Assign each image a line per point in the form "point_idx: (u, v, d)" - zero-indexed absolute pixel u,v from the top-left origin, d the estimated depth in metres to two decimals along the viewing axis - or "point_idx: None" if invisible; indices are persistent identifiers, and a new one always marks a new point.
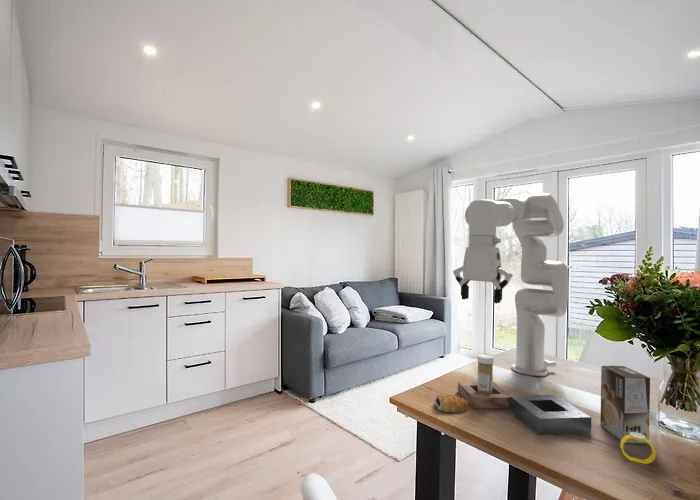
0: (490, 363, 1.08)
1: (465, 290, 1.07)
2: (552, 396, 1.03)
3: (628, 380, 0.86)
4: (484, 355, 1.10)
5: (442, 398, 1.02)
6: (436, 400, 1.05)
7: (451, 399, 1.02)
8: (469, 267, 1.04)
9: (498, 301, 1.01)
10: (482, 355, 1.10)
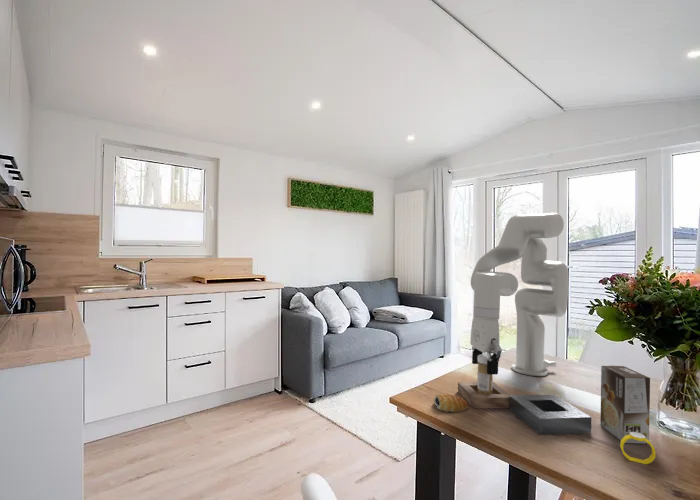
0: None
1: None
2: (552, 396, 1.03)
3: (628, 380, 0.86)
4: (484, 355, 1.10)
5: (441, 398, 1.03)
6: (435, 400, 1.05)
7: (450, 399, 1.02)
8: None
9: None
10: (482, 355, 1.10)
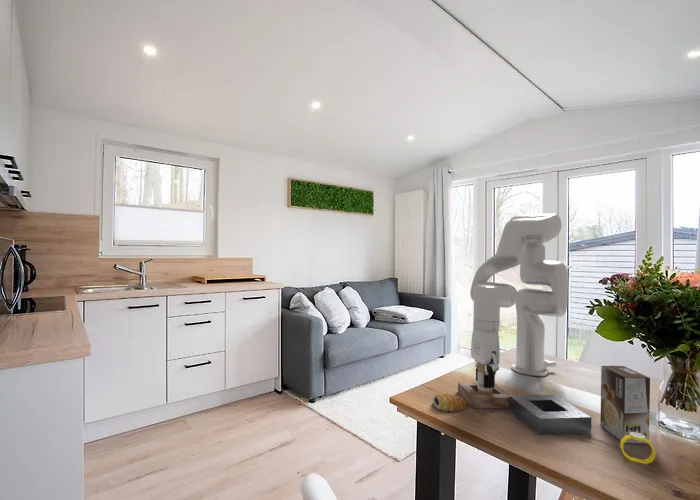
0: (490, 363, 1.08)
1: None
2: (552, 396, 1.03)
3: (628, 380, 0.86)
4: None
5: (441, 397, 1.03)
6: (434, 399, 1.05)
7: (449, 398, 1.03)
8: None
9: None
10: None
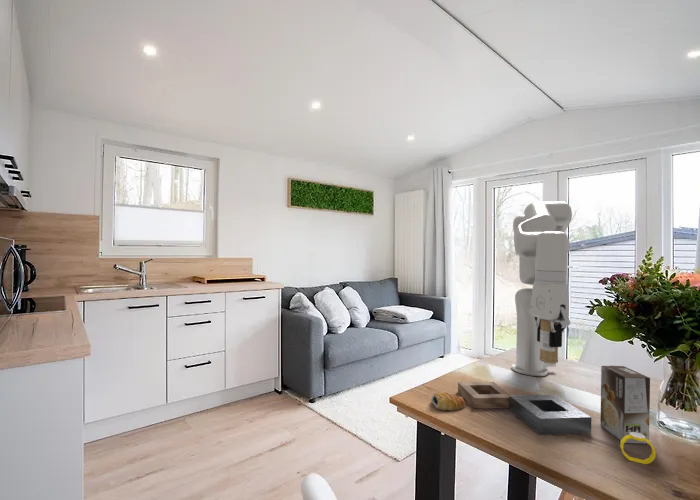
0: (556, 319, 0.95)
1: None
2: (552, 396, 1.03)
3: (628, 380, 0.86)
4: None
5: (439, 396, 1.03)
6: (433, 398, 1.06)
7: (448, 397, 1.03)
8: None
9: None
10: None
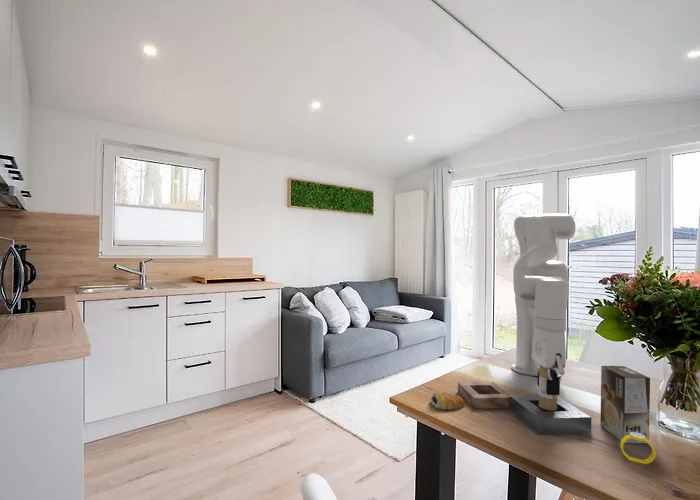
0: (554, 367, 0.95)
1: None
2: None
3: (628, 380, 0.86)
4: None
5: (439, 396, 1.04)
6: (432, 398, 1.06)
7: (447, 397, 1.03)
8: None
9: None
10: None
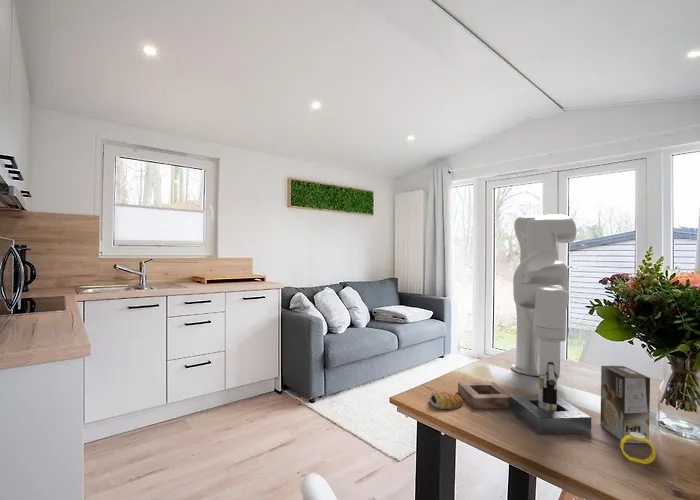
0: None
1: None
2: None
3: (628, 380, 0.86)
4: None
5: (438, 395, 1.04)
6: (431, 398, 1.06)
7: (446, 396, 1.04)
8: None
9: None
10: None
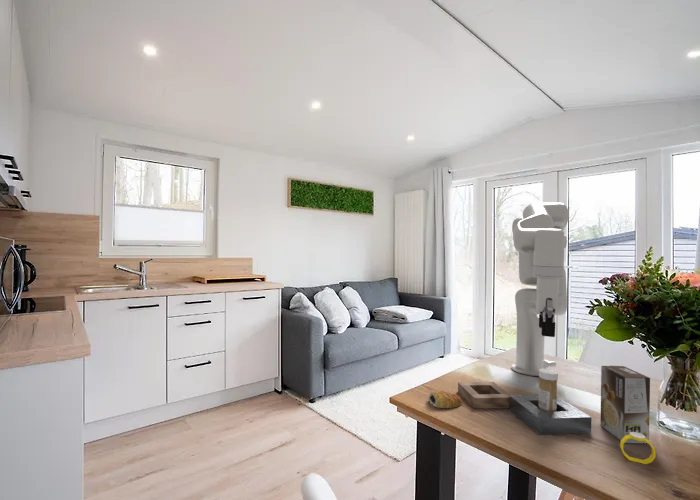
0: (551, 379, 0.95)
1: None
2: None
3: (628, 380, 0.86)
4: (547, 370, 0.98)
5: (437, 395, 1.04)
6: (430, 397, 1.06)
7: (445, 395, 1.04)
8: None
9: None
10: (545, 369, 0.98)
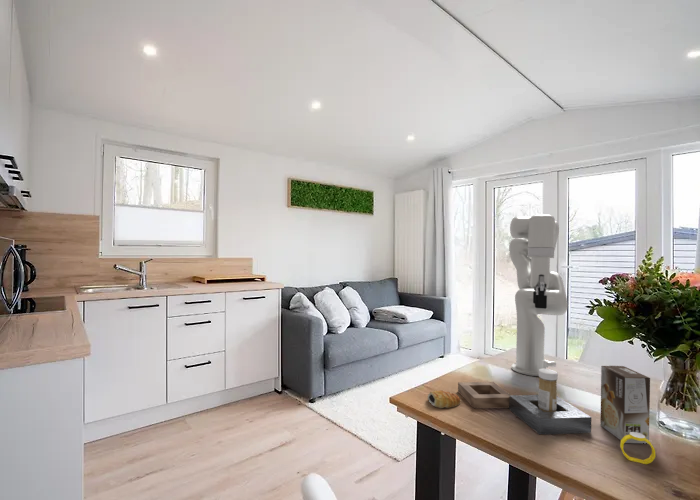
0: (551, 379, 0.95)
1: None
2: None
3: (628, 380, 0.86)
4: (547, 370, 0.98)
5: (436, 394, 1.05)
6: (429, 397, 1.07)
7: (444, 395, 1.05)
8: None
9: None
10: (544, 369, 0.98)
